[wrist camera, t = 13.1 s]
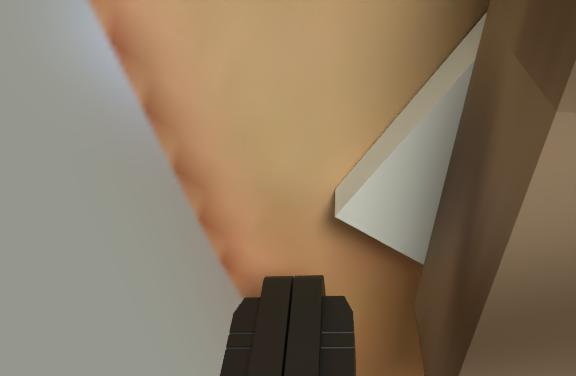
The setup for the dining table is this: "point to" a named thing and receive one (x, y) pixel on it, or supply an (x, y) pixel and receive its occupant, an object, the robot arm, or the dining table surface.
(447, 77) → the board
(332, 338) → the robot arm
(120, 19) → the dining table surface
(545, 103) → the brown rectangular block
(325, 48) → the dining table surface
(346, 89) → the dining table surface
